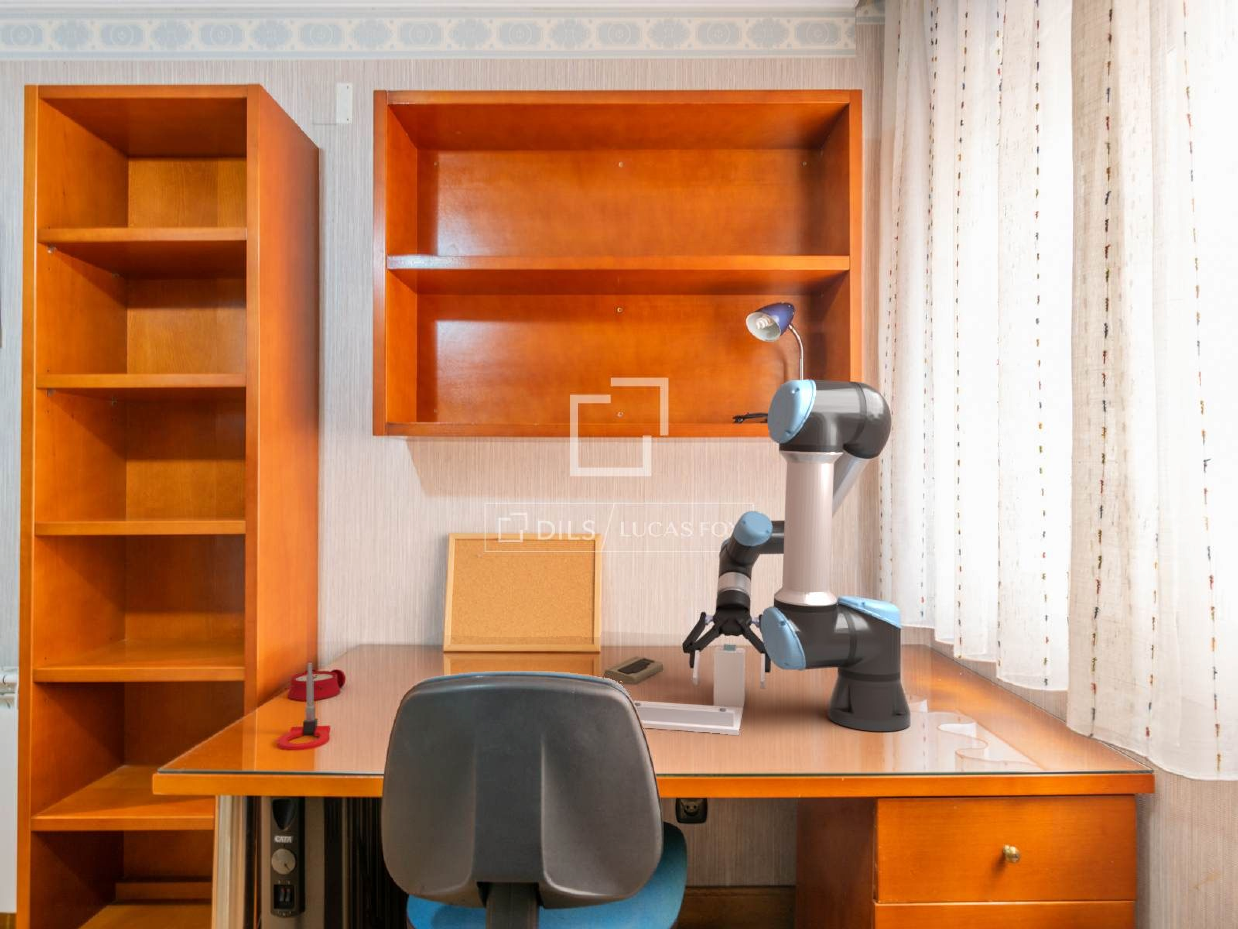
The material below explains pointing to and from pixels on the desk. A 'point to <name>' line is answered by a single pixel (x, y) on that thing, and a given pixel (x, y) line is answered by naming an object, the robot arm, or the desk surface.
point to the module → (729, 676)
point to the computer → (633, 670)
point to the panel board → (697, 727)
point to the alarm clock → (317, 684)
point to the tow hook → (306, 724)
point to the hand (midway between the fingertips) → (728, 683)
